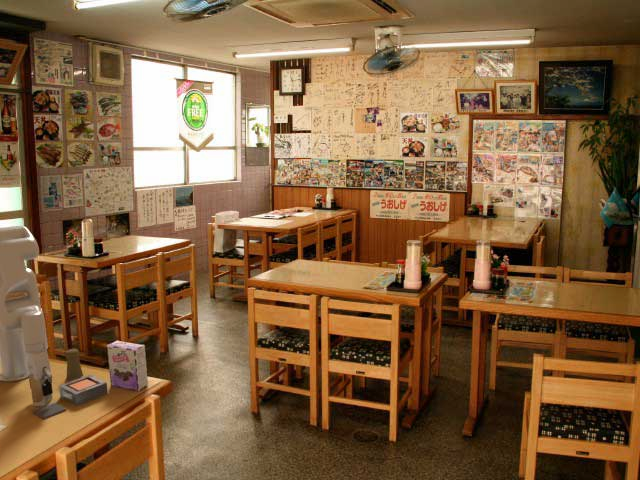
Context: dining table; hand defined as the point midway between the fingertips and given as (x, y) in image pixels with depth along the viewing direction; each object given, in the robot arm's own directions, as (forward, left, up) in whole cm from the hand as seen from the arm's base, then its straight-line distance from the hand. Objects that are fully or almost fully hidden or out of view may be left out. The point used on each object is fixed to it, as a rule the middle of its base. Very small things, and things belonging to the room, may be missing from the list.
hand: (41, 391), depth 215 cm
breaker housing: (+7, +12, -4) cm, 15 cm away
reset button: (+7, +12, -2) cm, 14 cm away
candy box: (+13, +27, -5) cm, 30 cm away
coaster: (+9, -2, -4) cm, 10 cm away
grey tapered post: (-13, +19, -4) cm, 23 cm away
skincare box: (0, 0, -4) cm, 4 cm away
